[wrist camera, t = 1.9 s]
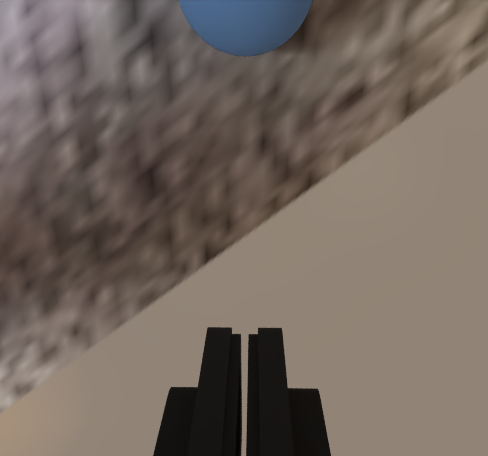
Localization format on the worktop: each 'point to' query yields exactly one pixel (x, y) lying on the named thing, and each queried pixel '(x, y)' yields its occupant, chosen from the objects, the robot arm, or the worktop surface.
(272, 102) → the worktop surface
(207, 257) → the worktop surface
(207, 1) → the ball
